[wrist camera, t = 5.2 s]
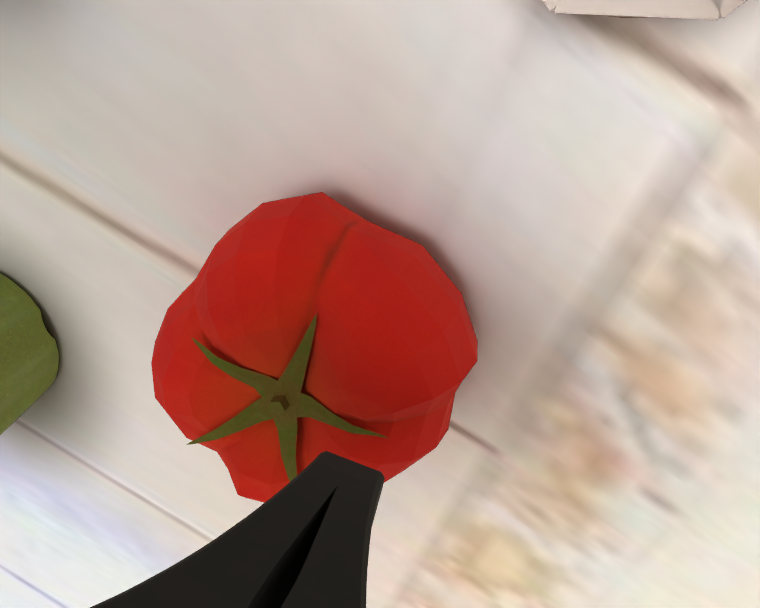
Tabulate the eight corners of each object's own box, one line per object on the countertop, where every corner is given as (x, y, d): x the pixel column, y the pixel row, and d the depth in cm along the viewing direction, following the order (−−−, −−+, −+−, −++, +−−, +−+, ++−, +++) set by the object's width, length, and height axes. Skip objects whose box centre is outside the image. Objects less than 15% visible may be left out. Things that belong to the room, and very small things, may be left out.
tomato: (186, 315, 26) (75, 400, 20) (334, 123, 20) (237, 168, 15) (353, 465, 27) (290, 587, 21) (540, 320, 21) (521, 434, 16)
